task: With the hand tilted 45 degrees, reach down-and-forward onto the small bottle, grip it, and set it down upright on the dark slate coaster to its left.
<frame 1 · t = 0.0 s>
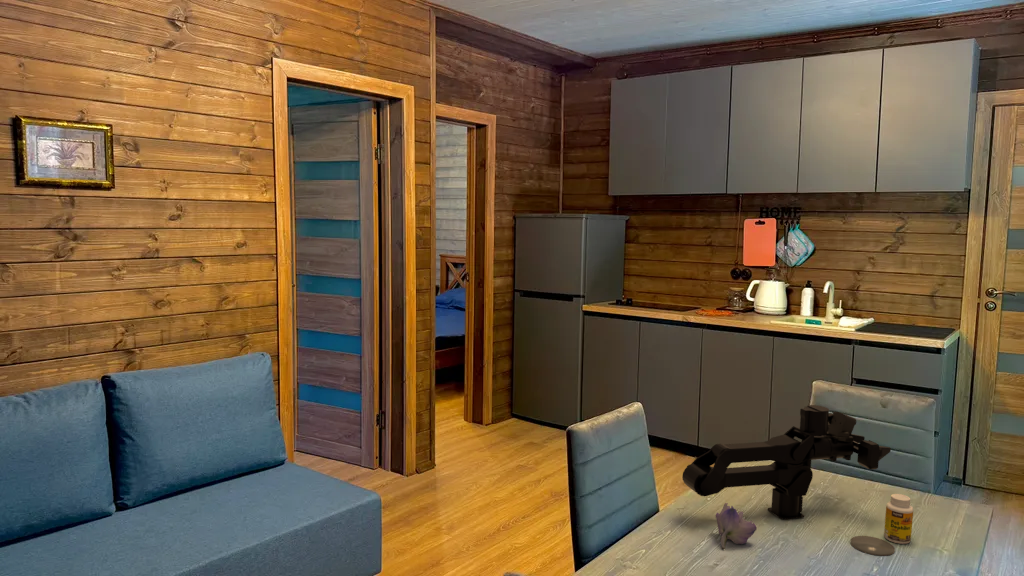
hand: (876, 443, 187), 17 cm above the table, tool horizontal, fingers open, 9 cm apart
supplement bottle: (897, 540, 169), on the table
slate coaster: (872, 546, 165), on the table
flower: (732, 544, 165), on the table
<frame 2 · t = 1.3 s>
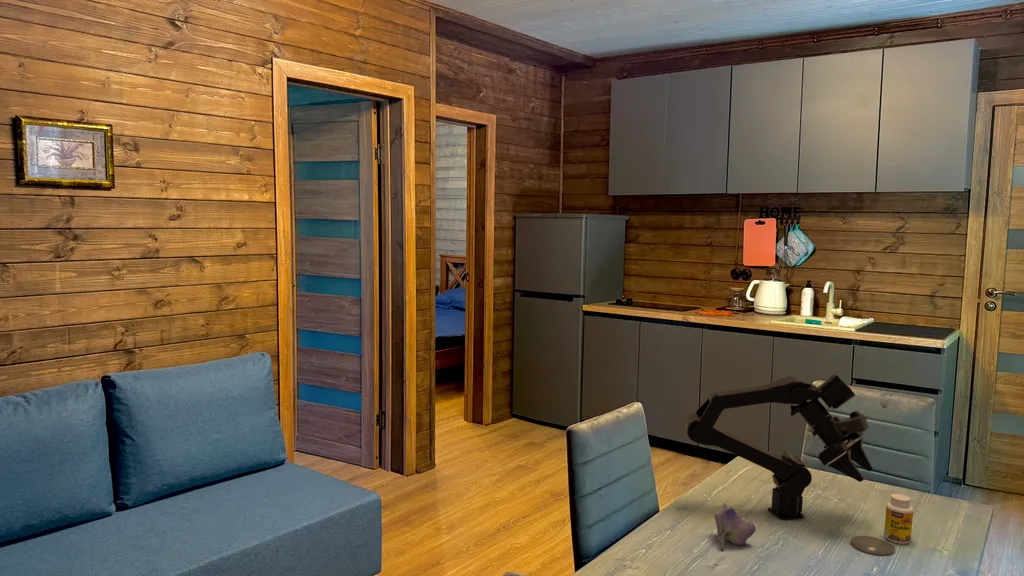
hand: (866, 475, 172), 13 cm above the table, tool tilted 45°, fingers open, 9 cm apart
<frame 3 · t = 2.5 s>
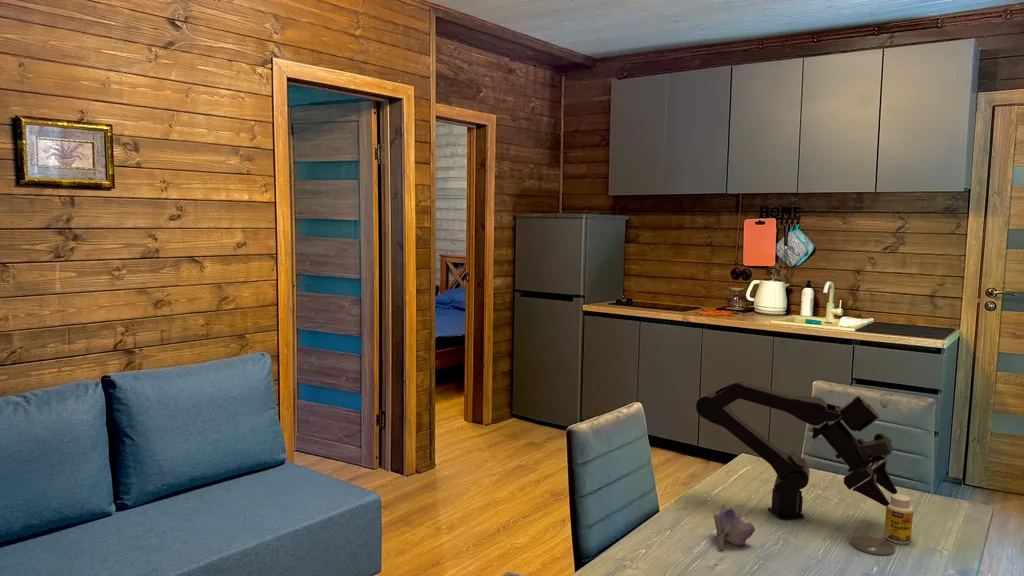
hand: (891, 499, 169), 9 cm above the table, tool tilted 45°, fingers open, 9 cm apart
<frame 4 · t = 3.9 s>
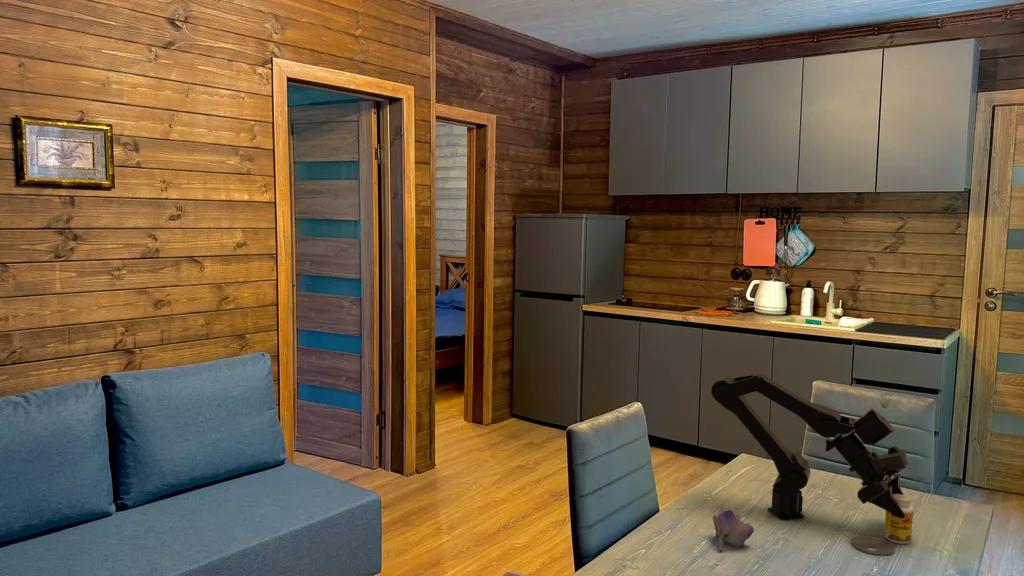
hand: (906, 513, 168), 7 cm above the table, tool tilted 45°, fingers closed on supplement bottle, 6 cm apart
supplement bottle: (897, 540, 169), on the table, touching gripper
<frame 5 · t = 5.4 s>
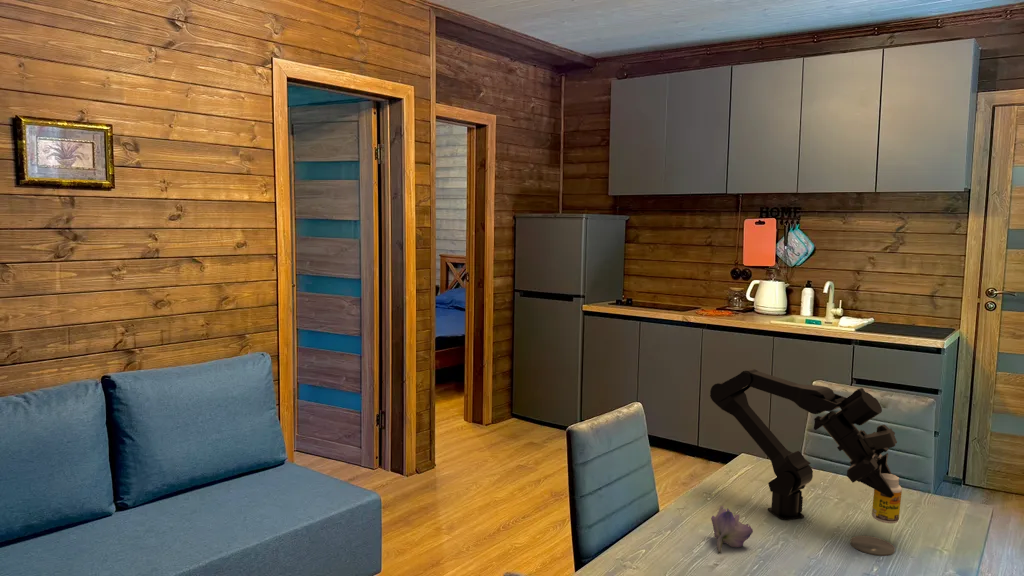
hand: (894, 492, 166), 12 cm above the table, tool tilted 45°, fingers closed on supplement bottle, 6 cm apart
supplement bottle: (885, 520, 167), point 5 cm above the table, touching gripper
when the fingers open (7 cm above the table, at t = 7.1 s): supplement bottle stays where it is, resting on slate coaster.
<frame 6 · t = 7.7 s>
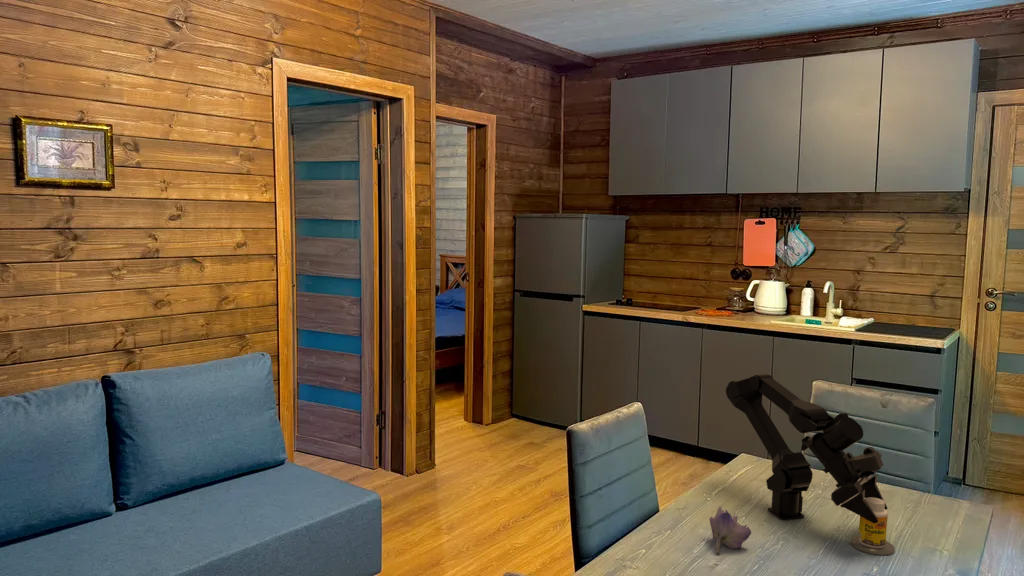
hand: (881, 516, 164), 8 cm above the table, tool tilted 45°, fingers open, 9 cm apart
supplement bottle: (871, 544, 165), resting on slate coaster
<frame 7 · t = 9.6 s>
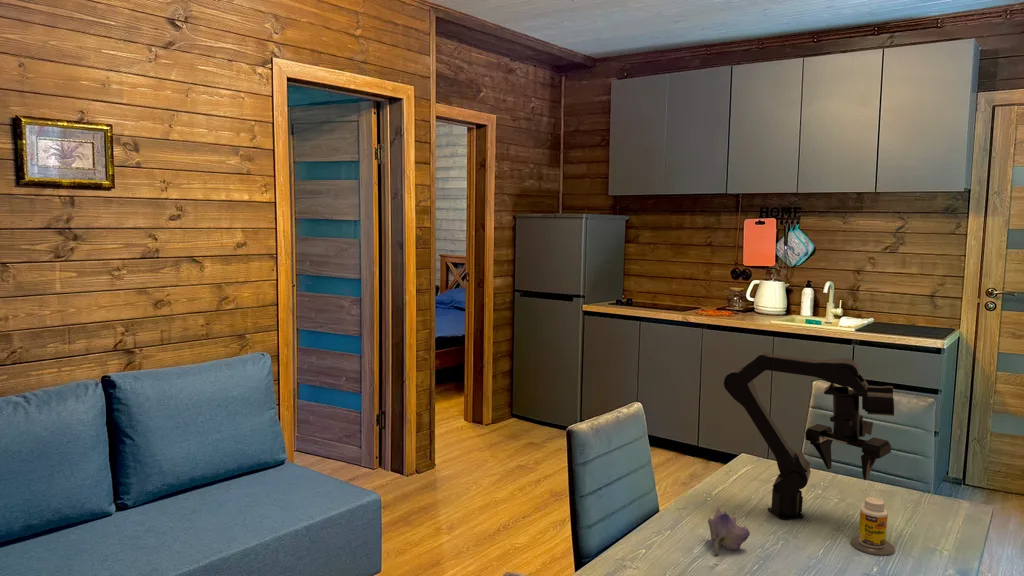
hand: (847, 474, 177), 12 cm above the table, tool pointing down, fingers open, 9 cm apart
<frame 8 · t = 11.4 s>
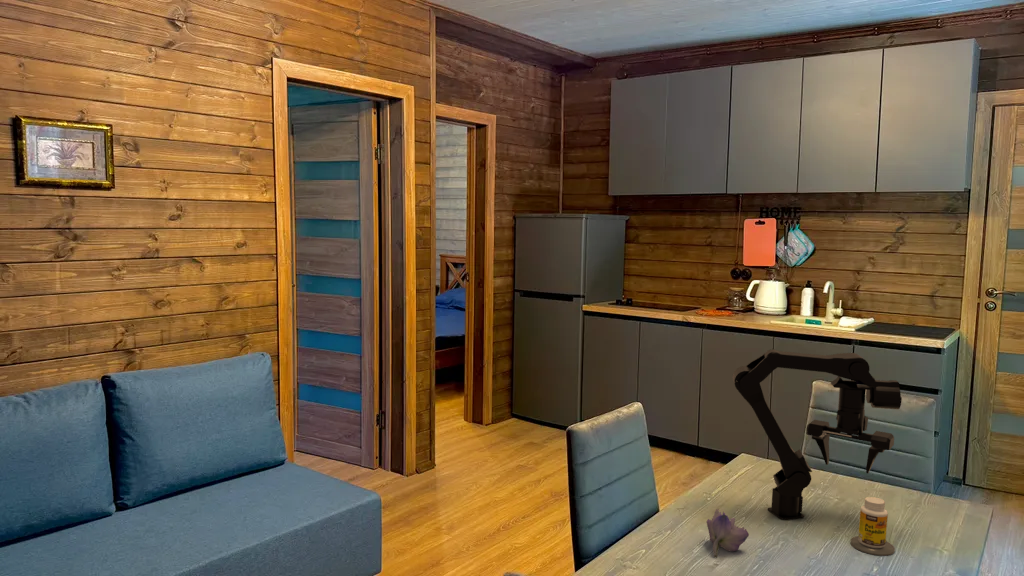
hand: (847, 468, 178), 13 cm above the table, tool pointing down, fingers open, 9 cm apart
at the end: supplement bottle 0.2 cm from the slate coaster (horizontally); supplement bottle tilted 1°; the gripper is holding nothing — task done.
